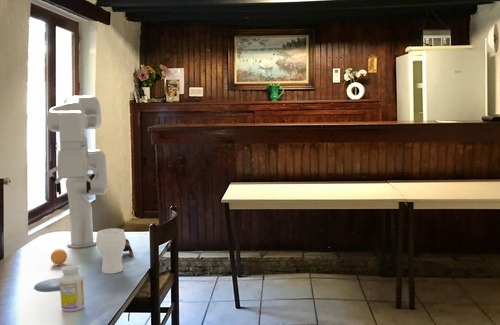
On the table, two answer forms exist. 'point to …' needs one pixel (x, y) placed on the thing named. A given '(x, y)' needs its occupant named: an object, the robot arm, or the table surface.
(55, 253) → the ball
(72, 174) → the robot arm
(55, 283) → the disc
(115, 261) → the cup
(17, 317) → the table surface
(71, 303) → the supplement bottle
